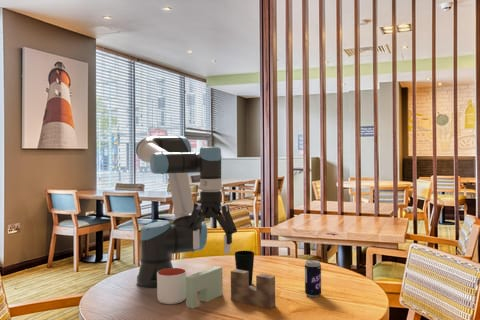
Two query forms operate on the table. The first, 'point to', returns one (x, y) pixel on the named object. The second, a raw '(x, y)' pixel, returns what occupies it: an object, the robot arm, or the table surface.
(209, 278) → the sage plate
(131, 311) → the table surface
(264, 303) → the walnut stand
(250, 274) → the cup
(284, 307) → the table surface
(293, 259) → the table surface
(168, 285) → the cup
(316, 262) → the beverage can
